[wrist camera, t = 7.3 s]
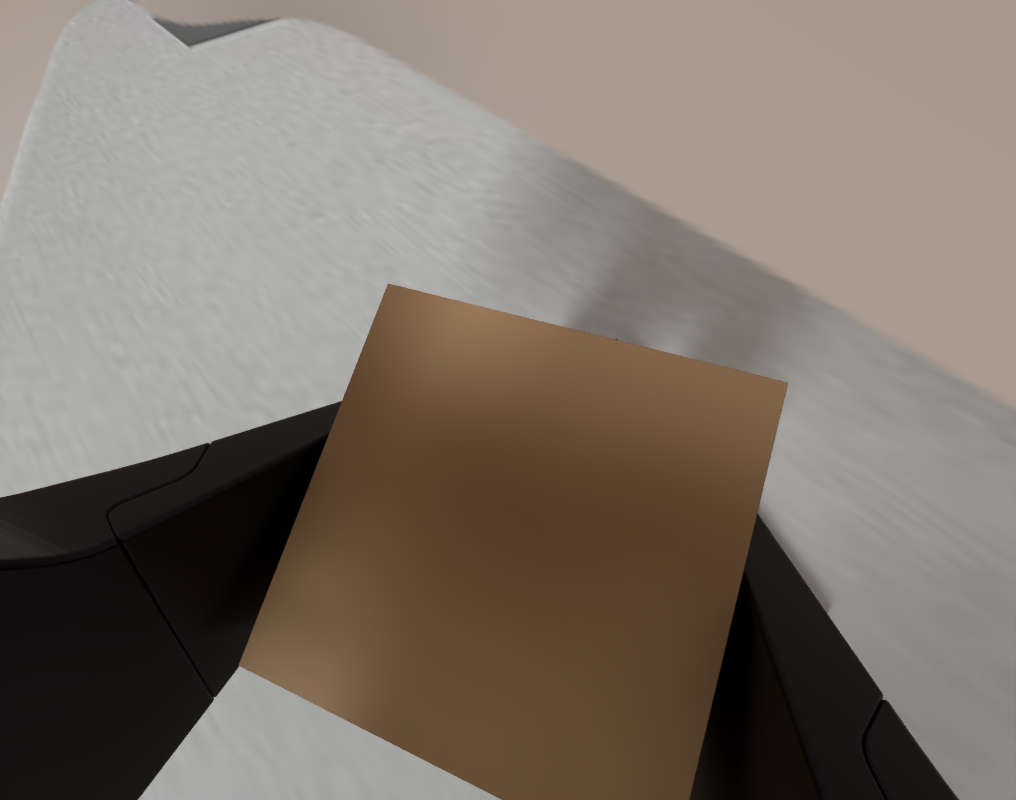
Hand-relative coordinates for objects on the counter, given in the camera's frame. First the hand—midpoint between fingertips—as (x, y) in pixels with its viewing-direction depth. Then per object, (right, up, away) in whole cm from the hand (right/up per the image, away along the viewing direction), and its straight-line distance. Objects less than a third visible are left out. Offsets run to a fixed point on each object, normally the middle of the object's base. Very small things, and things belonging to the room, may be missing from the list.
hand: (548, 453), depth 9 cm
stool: (+1, -3, +6) cm, 7 cm away
